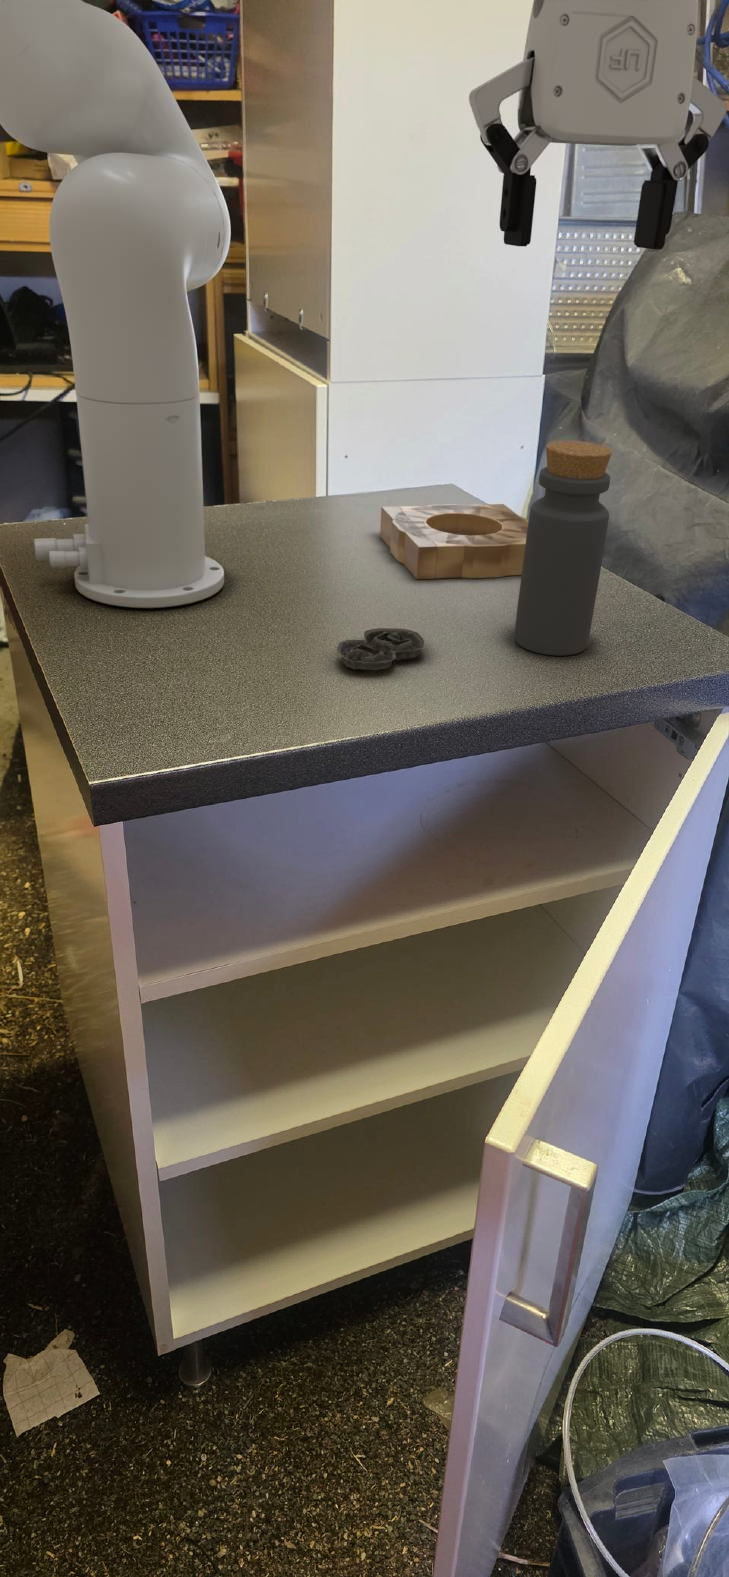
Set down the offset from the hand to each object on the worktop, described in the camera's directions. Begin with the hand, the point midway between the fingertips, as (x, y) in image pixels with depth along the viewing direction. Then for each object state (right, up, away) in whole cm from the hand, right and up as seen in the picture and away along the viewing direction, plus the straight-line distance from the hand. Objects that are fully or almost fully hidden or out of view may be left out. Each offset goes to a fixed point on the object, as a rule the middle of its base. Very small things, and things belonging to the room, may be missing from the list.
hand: (583, 246), depth 69 cm
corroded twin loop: (-14, -27, +8) cm, 31 cm away
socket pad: (-5, -14, +30) cm, 34 cm away
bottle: (0, -25, +12) cm, 28 cm away
